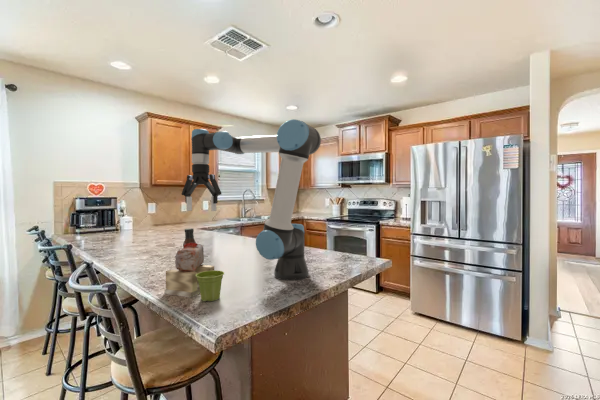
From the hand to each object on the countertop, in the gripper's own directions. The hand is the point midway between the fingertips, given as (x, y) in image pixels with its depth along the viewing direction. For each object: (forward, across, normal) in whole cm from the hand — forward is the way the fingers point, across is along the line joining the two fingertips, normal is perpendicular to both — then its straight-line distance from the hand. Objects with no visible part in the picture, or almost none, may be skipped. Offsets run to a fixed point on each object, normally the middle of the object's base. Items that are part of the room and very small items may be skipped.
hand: (201, 210), depth 133 cm
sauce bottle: (+29, +10, -4) cm, 31 cm away
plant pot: (+29, -24, +26) cm, 46 cm away
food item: (+21, -11, +20) cm, 31 cm away
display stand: (+29, -11, +20) cm, 37 cm away
